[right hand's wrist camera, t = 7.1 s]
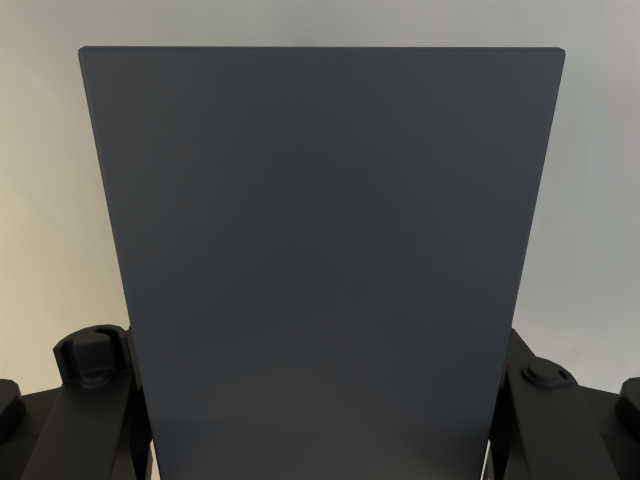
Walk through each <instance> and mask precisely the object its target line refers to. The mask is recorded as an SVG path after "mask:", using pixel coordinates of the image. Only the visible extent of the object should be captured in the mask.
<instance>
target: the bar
mask: <svg viewBox="0 0 640 480" xmlns="http://www.w3.org/2000/svg"><path fill="white" fill-rule="evenodd" d="M78 56H79V61H80V67H81V72H82V77H83V82H84V87H85V92H86V98H87V103H88V108H89V113H90V118H91V123H92V128H93V134H94V139H95V144H96V149H97V154H98V159H99V165H100V170H101V175H102V180H103V185H104V190H105V196H106V201H107V206H108V211H109V216H110V221H111V227H112V232H113V237H114V242H115V247H116V252H117V258H118V263H119V268H120V273H121V278H122V283H123V289H124V294H125V299H126V304H127V309H128V314H129V319H130V325H131V330H132V335H133V340H134V345H135V350H136V356H137V361H138V366H139V371H140V376H141V381H142V387H143V392H144V397H145V402H146V407H147V412H148V418H149V423H150V428H151V433H152V438H153V443H154V449H155V454H156V459H157V464H158V469H159V474H160V480H480V479H481V474H482V469H483V464H484V459H485V454H486V449H487V444H488V439H489V434H490V429H491V424H492V419H493V414H494V409H495V404H496V399H497V394H498V389H499V384H500V379H501V374H502V369H503V364H504V359H505V354H506V349H507V344H508V340H509V335H510V330H511V325H512V320H513V315H514V310H515V305H516V300H517V295H518V290H519V285H520V280H521V275H522V270H523V265H524V260H525V255H526V250H527V245H528V240H529V235H530V230H531V225H532V220H533V215H534V210H535V205H536V200H537V195H538V190H539V185H540V180H541V175H542V170H543V165H544V160H545V155H546V150H547V145H548V140H549V135H550V130H551V125H552V120H553V115H554V110H555V105H556V100H557V95H558V90H559V85H560V80H561V75H562V70H563V65H564V60H565V50H563V49H561V48H559V47H216V46H84V47H82V48H80V49H79V51H78Z"/></svg>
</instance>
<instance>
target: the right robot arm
mask: <svg viewBox="0 0 640 480" xmlns="http://www.w3.org/2000/svg"><path fill="white" fill-rule="evenodd" d="M53 352H54V355H55V358H56V362H57V365H58V368H59V372H60V375H61V378H62V382H63V384H62V386H61V387H59V388H56V389H51V390H47V391H42V392H37V393H33V394H28V395H23V396H22V395H21V392H20V389H19V386H18V384H16V383H15V382H14V381H12V380H7V379H0V480H151V473H152V463H153V458H152V451H151V447H150V443H151V441H152V439H153V438H152V433H151V428H150V423H149V418H148V412H147V407H146V402H145V397H144V392H143V387H142V381H141V376H140V371H139V366H138V361H137V356H136V350H135V345H134V340H133V335H132V330H131V325H130V327H129V330H127V331H125V330H124V329H122V328H121V327H120V326H115V325H96V326H92V327H88V328H84V329H81V330H79V331H76V332H74V333H72V334H70V335H68V336H67V337H65V338H64V339H62V340H61V341H59V342H58V344H57V345H56V346H55V347H54V348H53ZM489 441H490V447H489V451H488V456H487V460H486V465H485V470H484V474H483V480H640V377H637V378H629V379H628V380H626V381H625V382H624V383H623V385H622V387H621V390H620V393H619V394H615V393H611V392H606V391H601V390H597V389H592V388H587V387H584V386H580V385H578V383H577V381H576V380H575V378H574V377H573V376H572V374H571V373H569V372H568V371H567V370H566V369H564V368H563V367H562V366H560V365H558V364H556V363H554V362H552V361H550V360H547V359H543V358H540V357H536V356H535V355H534V354H533V352H532V351H531V350H530V349H529V347H528V346H527V345H526V344H525V342H524V341H523V340H522V339H521V337H520V336H519V335H518V334H517V332H516V331H515V330H514V329H513V328H512V326H511V330H510V335H509V340H508V344H507V349H506V354H505V359H504V364H503V369H502V374H501V379H500V384H499V389H498V394H497V399H496V404H495V409H494V414H493V419H492V424H491V429H490V434H489Z"/></svg>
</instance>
